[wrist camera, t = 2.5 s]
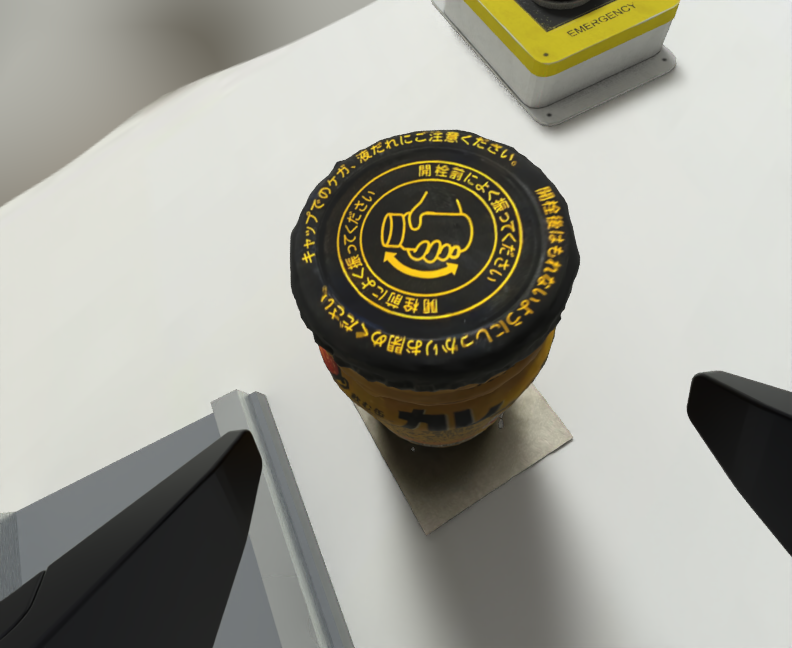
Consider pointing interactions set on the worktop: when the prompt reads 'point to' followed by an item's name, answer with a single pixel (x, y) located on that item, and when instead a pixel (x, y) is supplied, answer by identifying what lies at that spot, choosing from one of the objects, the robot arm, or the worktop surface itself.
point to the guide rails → (269, 534)
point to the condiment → (439, 307)
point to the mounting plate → (137, 474)
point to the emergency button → (566, 48)
